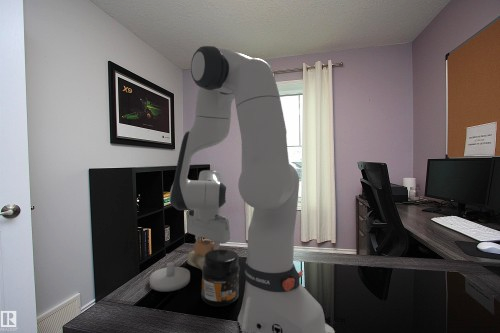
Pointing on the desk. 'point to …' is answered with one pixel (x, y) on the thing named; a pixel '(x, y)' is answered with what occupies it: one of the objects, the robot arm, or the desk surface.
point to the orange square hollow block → (203, 247)
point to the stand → (197, 258)
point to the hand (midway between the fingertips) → (207, 249)
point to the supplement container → (220, 277)
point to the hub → (169, 278)
